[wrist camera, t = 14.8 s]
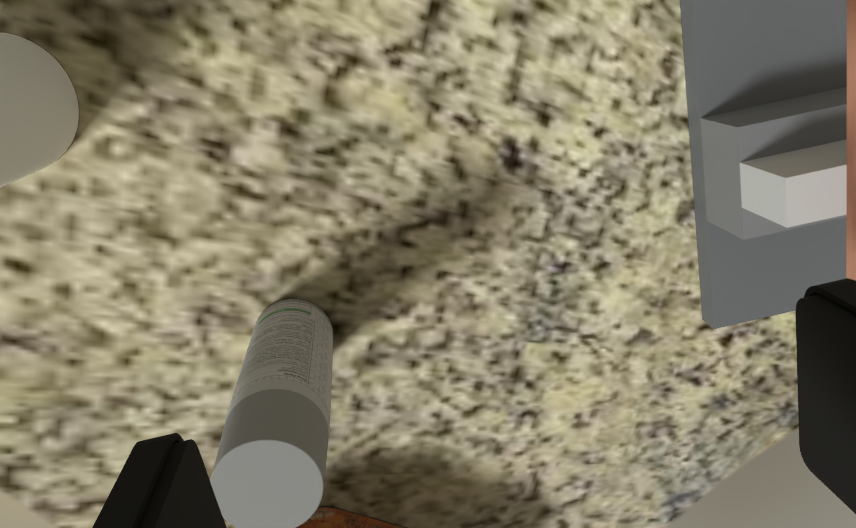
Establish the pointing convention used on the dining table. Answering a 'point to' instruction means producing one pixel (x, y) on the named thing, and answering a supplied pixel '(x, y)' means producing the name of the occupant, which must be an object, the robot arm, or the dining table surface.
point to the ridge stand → (766, 150)
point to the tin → (342, 520)
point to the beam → (851, 142)
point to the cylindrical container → (33, 109)
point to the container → (278, 421)
